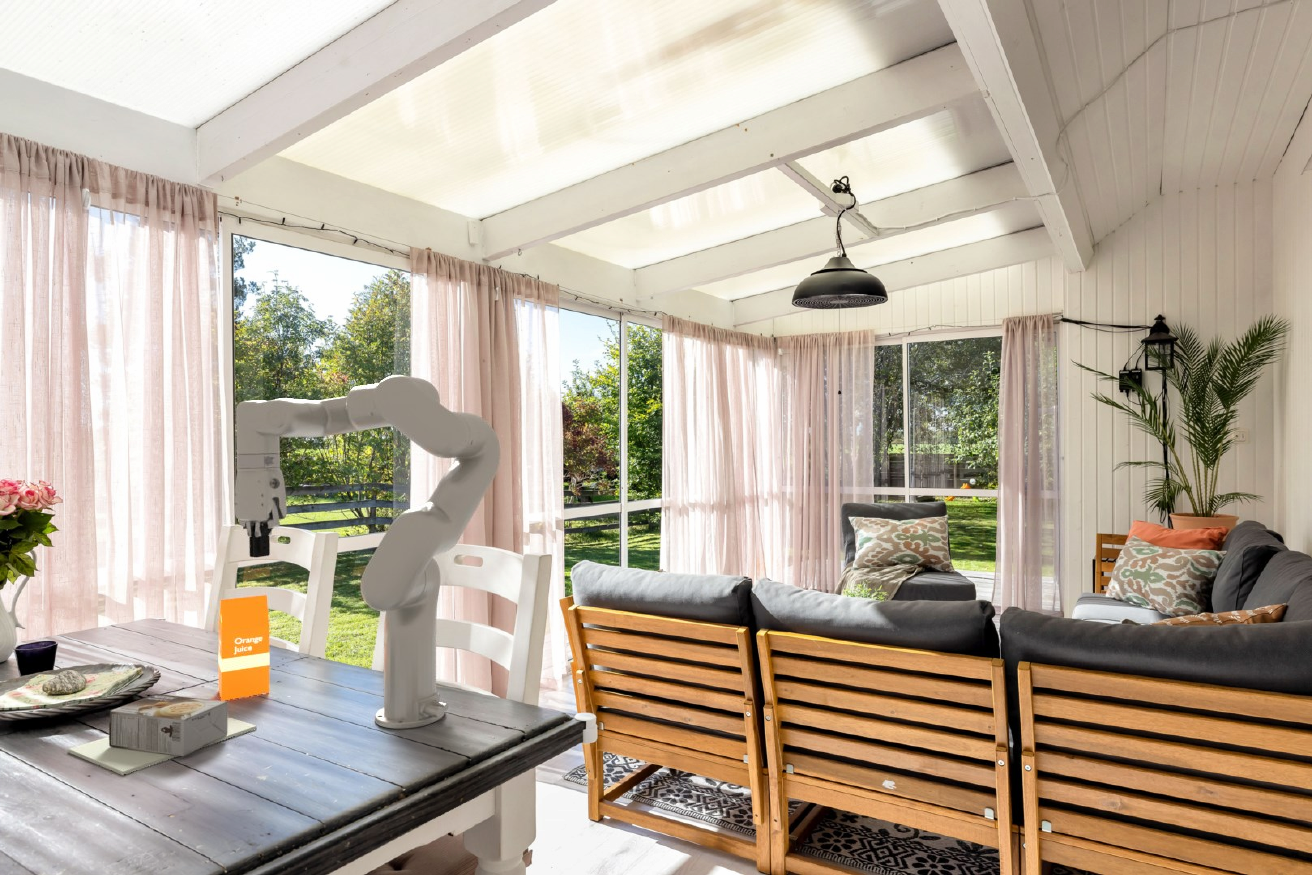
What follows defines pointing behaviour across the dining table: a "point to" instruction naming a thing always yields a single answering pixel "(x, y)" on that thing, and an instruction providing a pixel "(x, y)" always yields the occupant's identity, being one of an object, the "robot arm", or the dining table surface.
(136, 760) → the mat
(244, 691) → the orange juice
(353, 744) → the dining table surface
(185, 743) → the coffee box
